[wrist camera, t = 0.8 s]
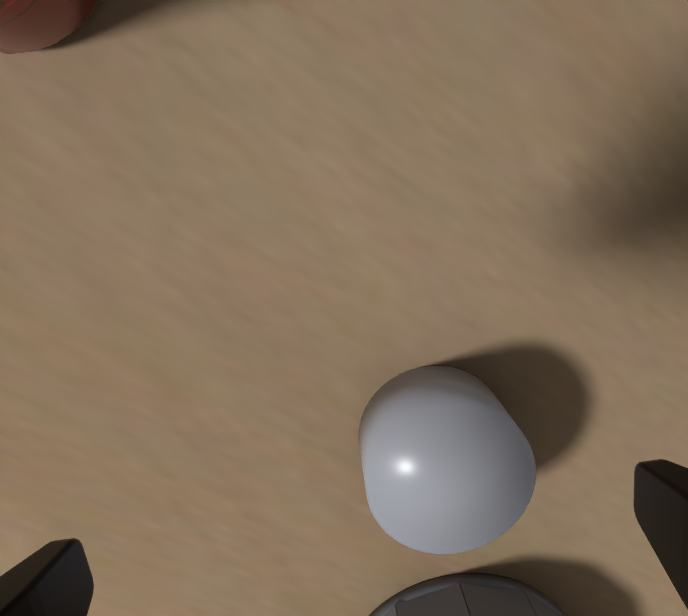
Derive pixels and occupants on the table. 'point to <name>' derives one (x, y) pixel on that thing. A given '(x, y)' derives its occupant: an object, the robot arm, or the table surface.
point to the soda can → (39, 22)
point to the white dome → (443, 461)
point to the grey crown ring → (469, 598)
